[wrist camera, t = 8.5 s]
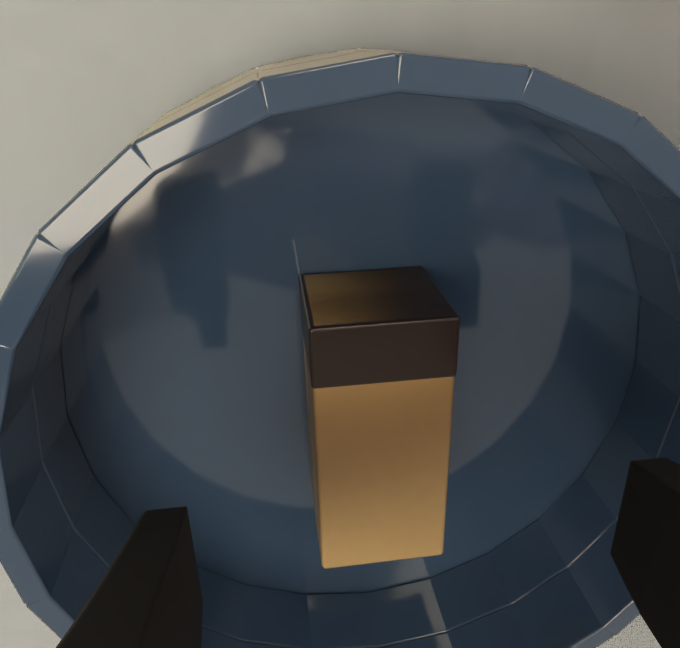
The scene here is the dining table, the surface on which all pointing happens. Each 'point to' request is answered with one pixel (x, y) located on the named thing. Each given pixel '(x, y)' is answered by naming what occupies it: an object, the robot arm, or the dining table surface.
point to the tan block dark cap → (378, 411)
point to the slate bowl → (288, 351)
